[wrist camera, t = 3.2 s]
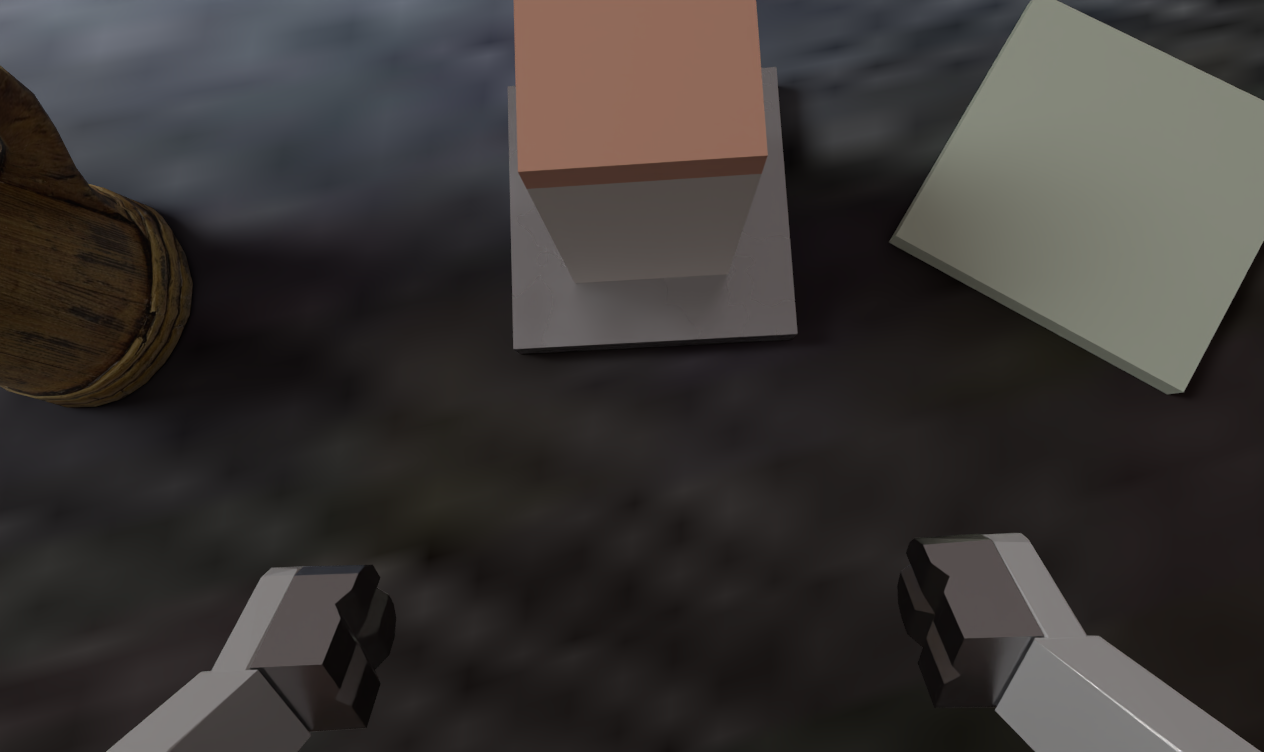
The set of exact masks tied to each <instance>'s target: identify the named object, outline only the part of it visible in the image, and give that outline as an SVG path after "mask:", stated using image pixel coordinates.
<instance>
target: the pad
mask: <svg viewBox="0 0 1264 752" xmlns="http://www.w3.org/2000/svg"><path fill="white" fill-rule="evenodd" d="M1263 241H1264V101H1263V100H1261V99H1259V98H1257V97H1255V96H1253V95H1251V94H1249V93H1246V92H1244V91H1242V90H1240V89H1238V88H1236V87H1234V86H1232V85H1230V84H1228V83H1226V82H1224V81H1222V80H1220V79H1218V78H1216V77H1213V76H1211V75H1209V74H1207V73H1205V72H1203V71H1201V70H1199V69H1197V68H1195V67H1193V66H1191V65H1189V64H1187V63H1185V62H1183V61H1180V60H1178V59H1176V58H1174V57H1172V56H1170V55H1168V54H1166V53H1164V52H1162V51H1160V50H1158V49H1156V48H1154V47H1152V46H1149V45H1147V44H1145V43H1143V42H1141V41H1139V40H1137V39H1135V38H1133V37H1131V36H1129V35H1127V34H1125V33H1123V32H1121V31H1119V30H1116V29H1114V28H1112V27H1110V26H1108V25H1106V24H1104V23H1102V22H1100V21H1098V20H1096V19H1094V18H1092V17H1090V16H1088V15H1086V14H1083V13H1081V12H1079V11H1077V10H1075V9H1073V8H1071V7H1069V6H1067V5H1065V4H1063V3H1061V2H1059V1H1057V0H1031V1H1030V3H1029V4H1028V5H1027V7H1026V9H1025V10H1024V12H1023V14H1022V15H1021V17H1020V19H1019V21H1018V22H1017V24H1016V26H1015V27H1014V29H1013V31H1012V33H1011V34H1010V36H1009V38H1008V39H1007V41H1006V43H1005V45H1004V46H1003V48H1002V50H1001V51H1000V53H999V55H998V56H997V58H996V60H995V62H994V63H993V65H992V67H991V68H990V70H989V72H988V74H987V75H986V77H985V79H984V80H983V82H982V84H981V86H980V87H979V89H978V91H977V92H976V94H975V96H974V97H973V99H972V101H971V103H970V104H969V106H968V108H967V109H966V111H965V113H964V115H963V116H962V118H961V120H960V121H959V123H958V125H957V127H956V128H955V130H954V132H953V133H952V135H951V137H950V138H949V140H948V142H947V144H946V145H945V147H944V149H943V150H942V152H941V154H940V156H939V157H938V159H937V161H936V162H935V164H934V166H933V168H932V169H931V171H930V173H929V174H928V176H927V178H926V179H925V181H924V183H923V185H922V186H921V188H920V190H919V191H918V193H917V195H916V197H915V198H914V200H913V202H912V203H911V205H910V207H909V209H908V210H907V212H906V214H905V215H904V217H903V219H902V220H901V222H900V224H899V226H898V227H897V229H896V231H895V232H894V234H893V236H892V238H891V239H890V241H889V243H891V244H893V245H894V246H896V247H898V248H900V249H902V250H904V251H905V252H907V253H909V254H911V255H913V256H915V257H916V258H918V259H920V260H922V261H924V262H926V263H927V264H929V265H931V266H933V267H935V268H937V269H938V270H940V271H942V272H944V273H946V274H948V275H949V276H951V277H953V278H955V279H957V280H959V281H960V282H962V283H964V284H966V285H968V286H970V287H971V288H973V289H975V290H977V291H979V292H981V293H982V294H984V295H986V296H988V297H990V298H992V299H993V300H995V301H997V302H999V303H1001V304H1003V305H1004V306H1006V307H1008V308H1010V309H1012V310H1014V311H1015V312H1017V313H1019V314H1021V315H1023V316H1025V317H1026V318H1028V319H1030V320H1032V321H1034V322H1036V323H1037V324H1039V325H1041V326H1043V327H1045V328H1047V329H1048V330H1050V331H1052V332H1054V333H1056V334H1058V335H1059V336H1061V337H1063V338H1065V339H1067V340H1069V341H1070V342H1072V343H1074V344H1076V345H1078V346H1080V347H1081V348H1083V349H1085V350H1087V351H1089V352H1091V353H1092V354H1094V355H1096V356H1098V357H1100V358H1102V359H1103V360H1105V361H1107V362H1109V363H1111V364H1113V365H1114V366H1116V367H1118V368H1120V369H1122V370H1124V371H1125V372H1127V373H1129V374H1131V375H1133V376H1135V377H1136V378H1138V379H1140V380H1142V381H1144V382H1146V383H1147V384H1149V385H1151V386H1153V387H1155V388H1157V389H1158V390H1160V391H1162V392H1164V393H1166V394H1174V393H1182V392H1184V391H1185V389H1186V387H1187V385H1188V383H1189V381H1190V379H1191V377H1192V375H1193V374H1194V372H1195V370H1196V368H1197V366H1198V364H1199V362H1200V360H1201V358H1202V357H1203V355H1204V353H1205V351H1206V349H1207V347H1208V345H1209V343H1210V341H1211V340H1212V338H1213V336H1214V334H1215V332H1216V330H1217V328H1218V326H1219V324H1220V322H1221V321H1222V319H1223V317H1224V315H1225V313H1226V311H1227V309H1228V307H1229V305H1230V304H1231V302H1232V300H1233V298H1234V296H1235V294H1236V292H1237V290H1238V288H1239V286H1240V285H1241V283H1242V281H1243V279H1244V277H1245V275H1246V273H1247V271H1248V269H1249V268H1250V266H1251V264H1252V262H1253V260H1254V258H1255V256H1256V254H1257V252H1258V251H1259V249H1260V247H1261V245H1262V243H1263Z"/></svg>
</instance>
